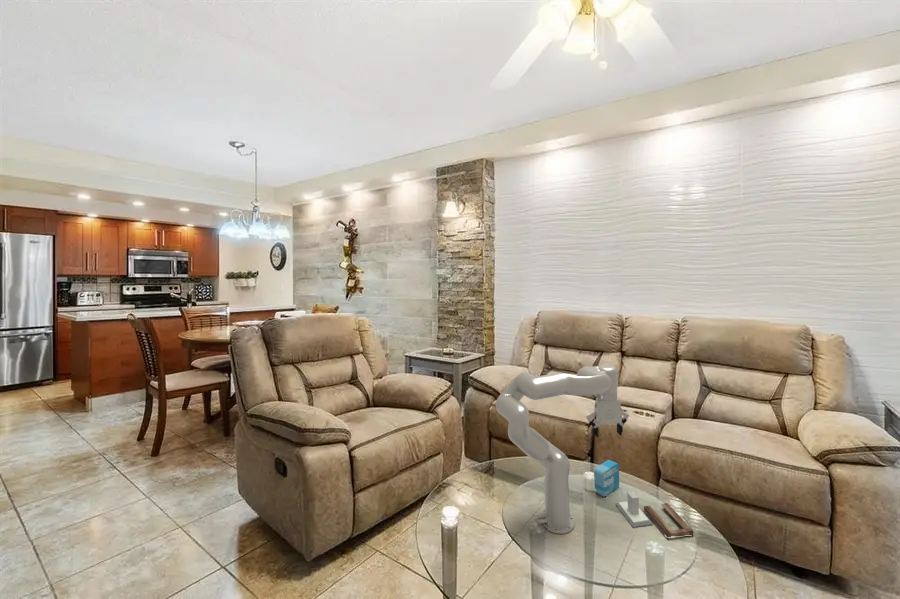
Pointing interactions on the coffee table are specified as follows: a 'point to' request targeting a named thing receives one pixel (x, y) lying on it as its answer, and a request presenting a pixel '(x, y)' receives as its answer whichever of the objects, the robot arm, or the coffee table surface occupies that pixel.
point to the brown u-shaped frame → (663, 526)
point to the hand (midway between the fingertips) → (607, 434)
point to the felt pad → (630, 520)
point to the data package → (606, 477)
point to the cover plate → (633, 517)
